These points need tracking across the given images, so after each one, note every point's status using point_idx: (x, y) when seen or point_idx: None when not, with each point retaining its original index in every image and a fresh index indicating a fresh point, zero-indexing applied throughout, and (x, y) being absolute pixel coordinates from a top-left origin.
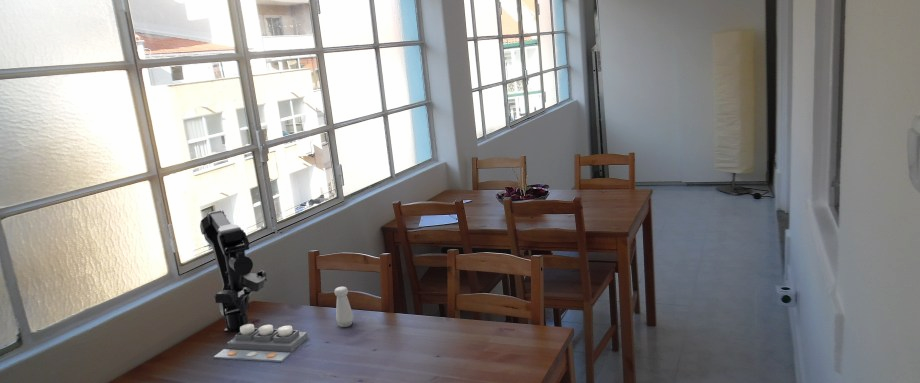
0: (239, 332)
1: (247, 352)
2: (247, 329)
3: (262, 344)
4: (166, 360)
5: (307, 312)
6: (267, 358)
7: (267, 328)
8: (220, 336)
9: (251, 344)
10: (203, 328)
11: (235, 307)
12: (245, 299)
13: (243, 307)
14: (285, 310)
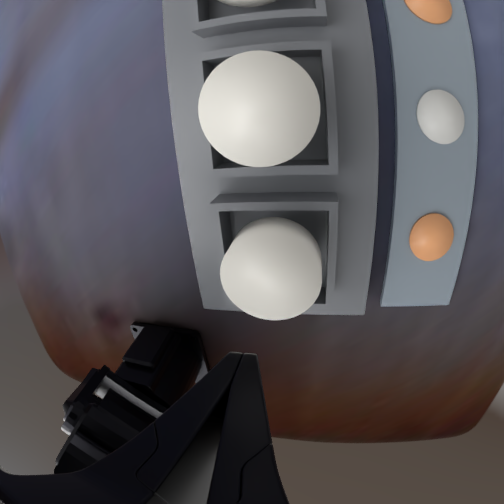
0: None
1: (421, 157)
2: (309, 251)
3: (374, 80)
4: (423, 414)
5: (7, 169)
6: (455, 12)
7: (271, 78)
8: None
9: (377, 161)
10: None
11: (151, 422)
12: (173, 482)
13: (267, 418)
14: (27, 258)
